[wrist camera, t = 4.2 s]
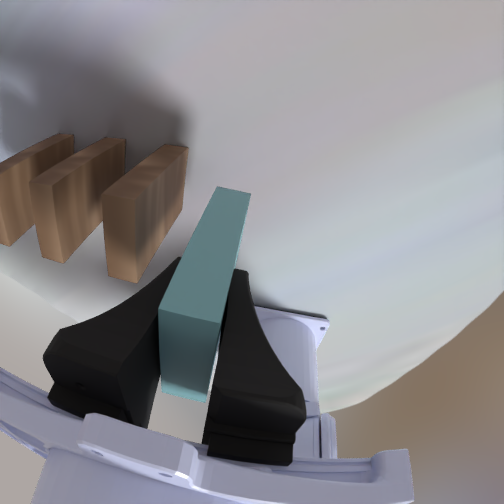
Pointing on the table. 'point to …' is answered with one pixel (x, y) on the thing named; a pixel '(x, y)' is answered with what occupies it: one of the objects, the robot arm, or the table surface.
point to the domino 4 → (200, 297)
